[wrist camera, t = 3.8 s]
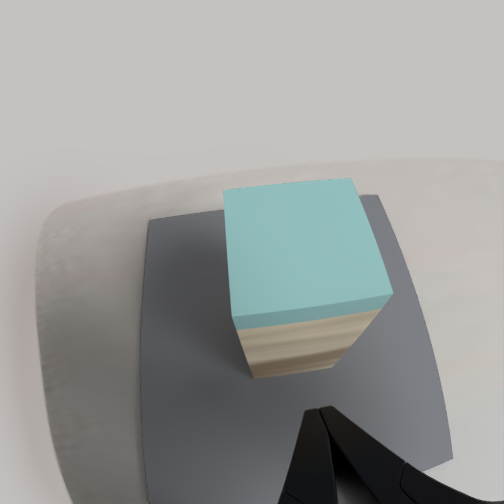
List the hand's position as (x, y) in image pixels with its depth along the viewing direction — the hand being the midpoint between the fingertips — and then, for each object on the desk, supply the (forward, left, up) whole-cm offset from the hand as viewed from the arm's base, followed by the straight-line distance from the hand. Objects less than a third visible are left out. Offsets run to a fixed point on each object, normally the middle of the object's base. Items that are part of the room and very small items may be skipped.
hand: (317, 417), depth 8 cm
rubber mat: (+5, 0, -7) cm, 8 cm away
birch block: (+5, 0, -6) cm, 8 cm away
